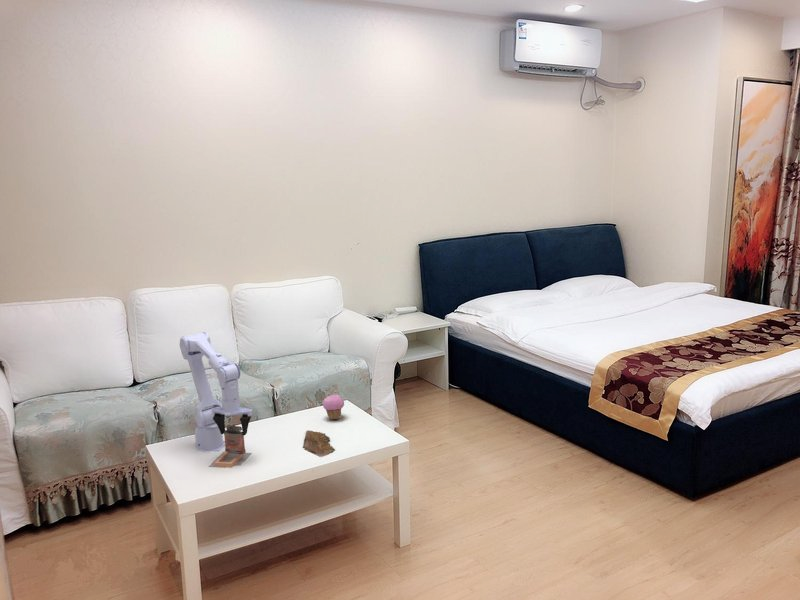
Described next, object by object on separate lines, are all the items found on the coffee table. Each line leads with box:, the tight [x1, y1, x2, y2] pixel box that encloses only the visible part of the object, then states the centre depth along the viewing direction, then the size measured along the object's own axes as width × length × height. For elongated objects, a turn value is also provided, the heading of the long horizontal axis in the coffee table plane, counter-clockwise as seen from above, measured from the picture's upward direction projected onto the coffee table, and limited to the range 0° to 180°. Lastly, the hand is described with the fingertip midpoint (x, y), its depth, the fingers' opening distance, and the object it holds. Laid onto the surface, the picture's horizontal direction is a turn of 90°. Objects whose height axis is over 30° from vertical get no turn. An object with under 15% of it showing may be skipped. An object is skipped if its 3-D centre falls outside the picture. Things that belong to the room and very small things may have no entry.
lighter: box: [223, 424, 247, 454], centre depth 219 cm, size 8×3×10 cm, turn 69°
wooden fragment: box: [302, 429, 336, 458], centre depth 232 cm, size 26×11×1 cm, turn 18°
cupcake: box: [322, 394, 345, 420], centre depth 255 cm, size 9×9×10 cm
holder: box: [208, 451, 252, 469], centre depth 220 cm, size 11×12×2 cm
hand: (233, 433), depth 219 cm, fingers closed on lighter, 7 cm apart
